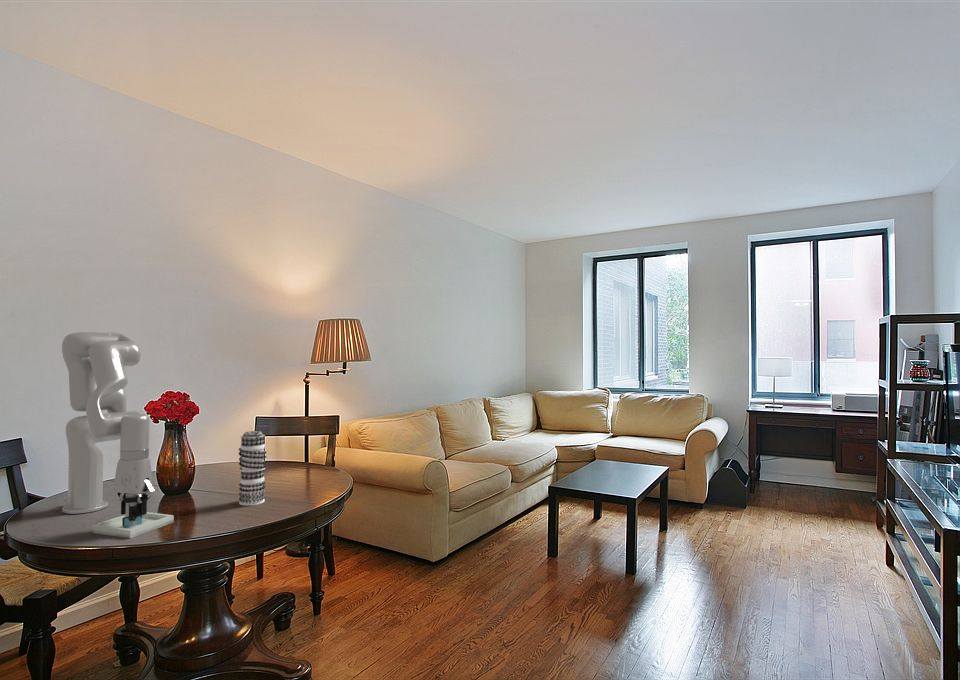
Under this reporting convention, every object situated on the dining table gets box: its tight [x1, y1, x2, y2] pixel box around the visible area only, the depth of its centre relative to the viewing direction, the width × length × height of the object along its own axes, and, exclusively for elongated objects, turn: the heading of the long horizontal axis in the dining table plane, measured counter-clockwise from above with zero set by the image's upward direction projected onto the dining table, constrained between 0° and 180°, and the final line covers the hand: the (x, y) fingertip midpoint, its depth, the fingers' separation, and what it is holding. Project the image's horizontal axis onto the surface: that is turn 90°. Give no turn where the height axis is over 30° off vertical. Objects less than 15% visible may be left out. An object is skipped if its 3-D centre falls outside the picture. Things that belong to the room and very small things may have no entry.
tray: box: [91, 511, 175, 539], centre depth 166 cm, size 15×15×2 cm
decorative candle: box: [238, 430, 267, 507], centre depth 193 cm, size 9×9×25 cm
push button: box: [122, 494, 147, 528], centre depth 166 cm, size 7×5×10 cm
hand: (133, 513), depth 166 cm, fingers open, 5 cm apart
